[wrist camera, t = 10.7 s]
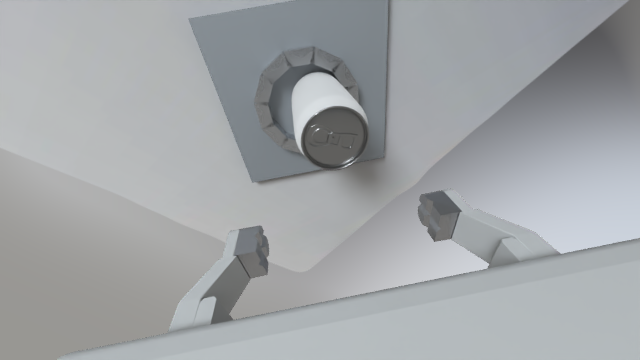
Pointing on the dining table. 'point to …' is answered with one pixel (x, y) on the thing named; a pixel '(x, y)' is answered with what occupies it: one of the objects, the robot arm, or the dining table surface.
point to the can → (328, 122)
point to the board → (293, 69)
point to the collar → (279, 68)
